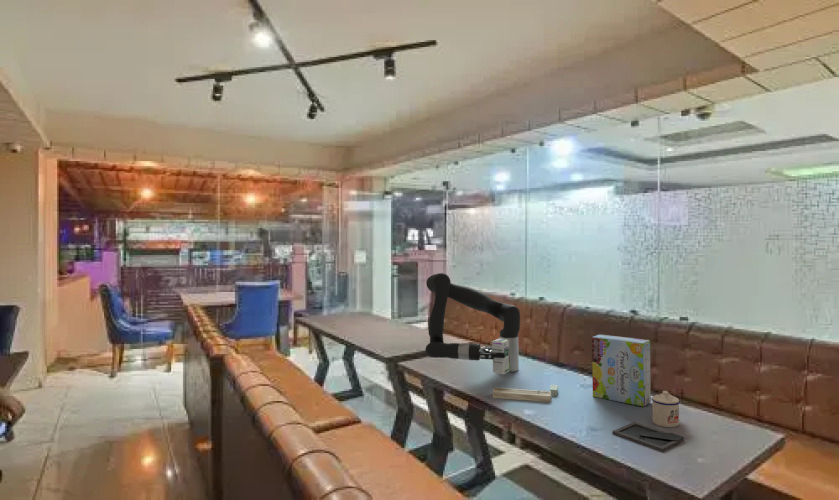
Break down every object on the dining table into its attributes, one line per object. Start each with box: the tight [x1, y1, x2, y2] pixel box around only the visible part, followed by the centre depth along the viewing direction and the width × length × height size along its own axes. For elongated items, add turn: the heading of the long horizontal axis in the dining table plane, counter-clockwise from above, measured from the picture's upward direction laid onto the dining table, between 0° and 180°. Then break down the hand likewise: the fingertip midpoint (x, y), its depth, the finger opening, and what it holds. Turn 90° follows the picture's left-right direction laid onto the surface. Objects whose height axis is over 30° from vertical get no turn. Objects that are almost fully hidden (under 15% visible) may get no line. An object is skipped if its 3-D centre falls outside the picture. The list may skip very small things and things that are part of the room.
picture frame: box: [612, 421, 685, 453], centre depth 171 cm, size 13×2×18 cm
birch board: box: [492, 387, 552, 403], centre depth 214 cm, size 6×24×3 cm, turn 73°
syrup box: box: [491, 338, 510, 375], centre depth 225 cm, size 6×6×14 cm
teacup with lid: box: [651, 390, 681, 428], centre depth 184 cm, size 12×9×12 cm
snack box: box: [591, 334, 652, 407], centre depth 209 cm, size 22×9×26 cm, turn 47°
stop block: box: [549, 384, 559, 397], centre depth 219 cm, size 7×3×2 cm, turn 163°
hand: (505, 353), depth 224 cm, fingers closed on syrup box, 7 cm apart
